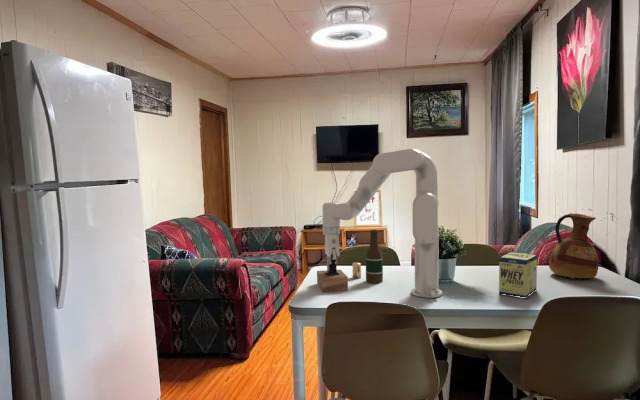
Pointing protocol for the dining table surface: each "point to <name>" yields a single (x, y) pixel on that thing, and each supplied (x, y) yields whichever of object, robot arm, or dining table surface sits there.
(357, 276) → the short brass pin
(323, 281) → the walnut hole block
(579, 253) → the ceramic pitcher
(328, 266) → the long steel pin
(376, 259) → the beer bottle
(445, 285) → the dining table surface
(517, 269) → the protein box
